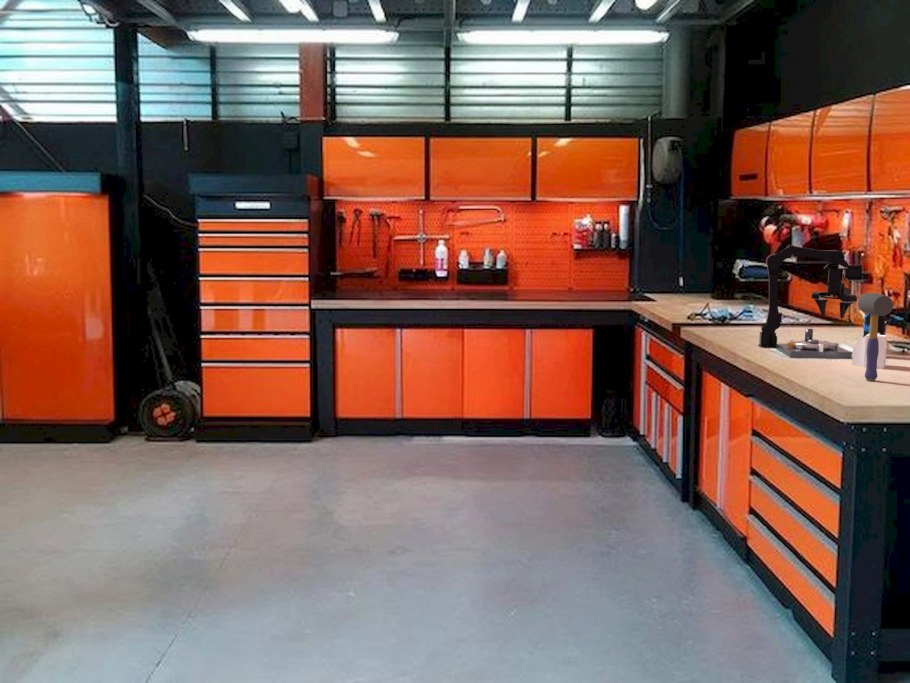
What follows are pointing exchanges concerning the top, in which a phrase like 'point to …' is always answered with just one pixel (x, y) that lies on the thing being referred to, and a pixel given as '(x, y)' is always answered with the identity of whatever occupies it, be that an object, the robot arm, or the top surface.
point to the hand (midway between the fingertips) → (832, 317)
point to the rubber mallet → (874, 327)
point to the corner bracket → (861, 349)
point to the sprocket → (812, 342)
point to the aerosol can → (880, 324)
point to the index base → (813, 352)
